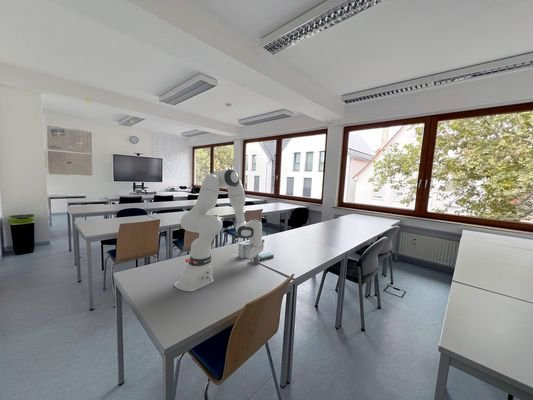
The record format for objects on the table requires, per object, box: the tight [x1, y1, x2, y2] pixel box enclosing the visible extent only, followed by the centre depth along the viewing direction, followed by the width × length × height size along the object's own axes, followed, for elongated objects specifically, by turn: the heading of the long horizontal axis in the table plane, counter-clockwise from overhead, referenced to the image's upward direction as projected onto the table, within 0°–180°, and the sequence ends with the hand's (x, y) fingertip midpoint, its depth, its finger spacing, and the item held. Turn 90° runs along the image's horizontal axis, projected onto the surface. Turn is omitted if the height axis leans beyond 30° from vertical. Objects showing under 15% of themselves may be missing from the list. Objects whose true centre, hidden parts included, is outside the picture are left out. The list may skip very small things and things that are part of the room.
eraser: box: [258, 252, 274, 262], centre depth 169 cm, size 12×5×3 cm, turn 127°
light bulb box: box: [237, 240, 249, 259], centre depth 172 cm, size 11×7×11 cm, turn 130°
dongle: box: [247, 256, 261, 265], centre depth 160 cm, size 9×4×4 cm, turn 64°
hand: (254, 260), depth 160 cm, fingers closed on dongle, 3 cm apart
